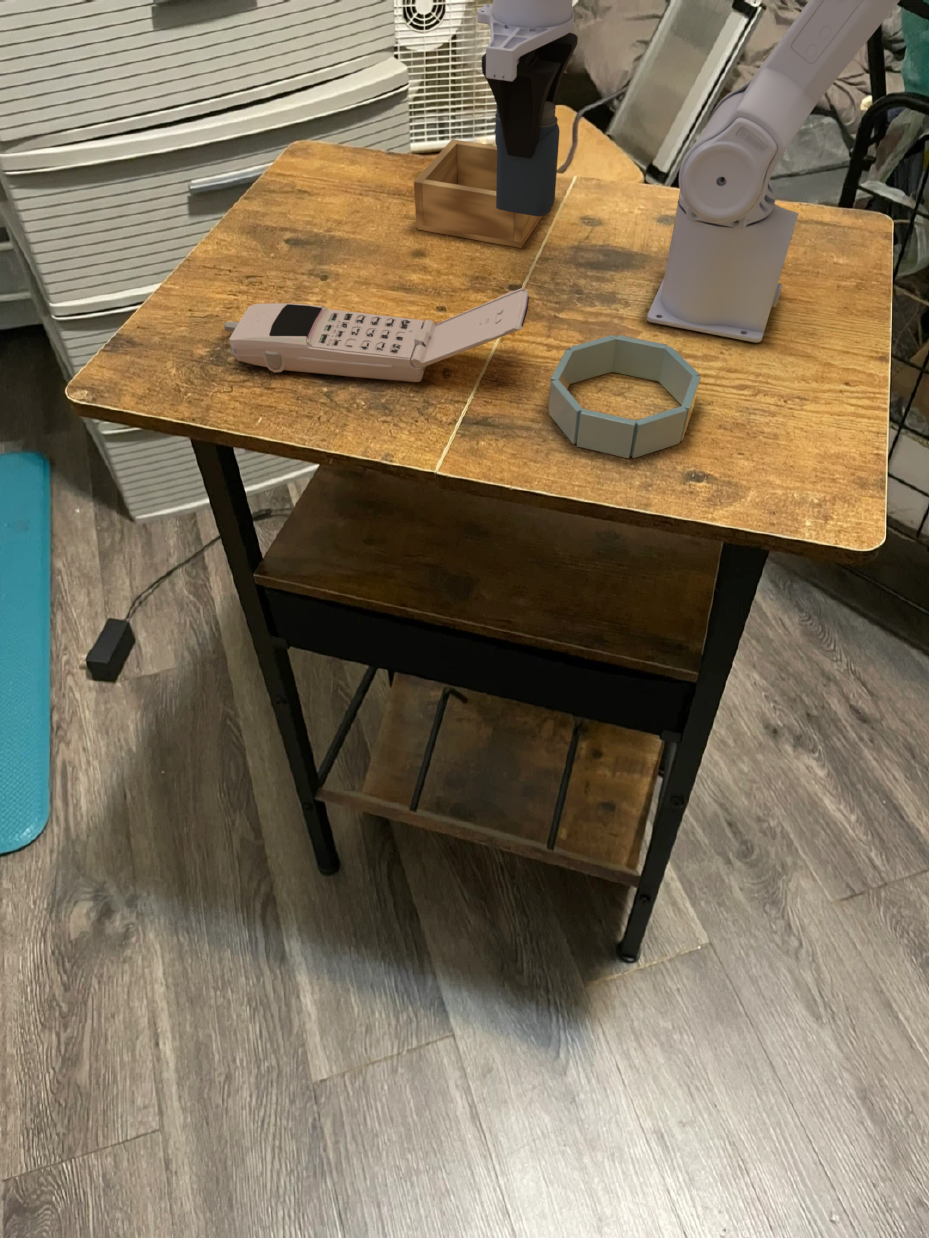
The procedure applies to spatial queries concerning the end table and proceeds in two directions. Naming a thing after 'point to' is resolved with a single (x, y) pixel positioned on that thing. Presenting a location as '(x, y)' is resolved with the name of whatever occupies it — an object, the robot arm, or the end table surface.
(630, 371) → the octagonal ring
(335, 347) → the mobile phone
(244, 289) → the end table surface
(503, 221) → the holder
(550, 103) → the vaping device
